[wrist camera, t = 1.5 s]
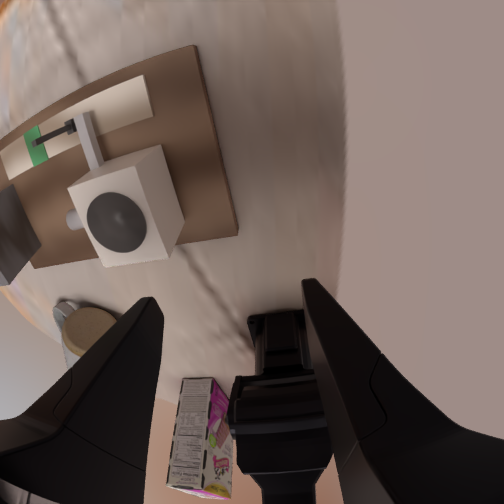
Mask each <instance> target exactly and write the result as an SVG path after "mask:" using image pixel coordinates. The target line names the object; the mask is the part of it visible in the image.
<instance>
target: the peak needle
mask: <svg viewBox="0 0 504 504" xmlns="http://www.w3.org/2000/svg"><path fill="white" fill-rule="evenodd" d="M64 124H65V126H64V127H61V128H59V129H57V130H54V131H52V132H50V133H48V134H46V135H43V136H41V137H39V138H37V139H35V140H33V141H32V142H31V143H32V146H33V148H34V147H36V146H38V145H40V144H42V143H44V142H46V141H48V140H50V139H52V138H54V137H56V136H58V135H60V134H62V133H64V132H67V134H68V135H70V134H72V133H74V132H76V131H77V128H76V125H75V122H74V118H72V119H70V120H68V121H66V122H64Z"/></svg>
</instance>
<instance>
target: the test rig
mask: <svg viewBox="0 0 504 504" xmlns="http://www.w3.org/2000/svg"><path fill="white" fill-rule="evenodd" d="M87 111H88V112H89V115H90V119H91V122H92V126H93V129H94V132H95V135H96V139H97V142H98V145H99V148H100V151H101V154H102V157H103V160H104V162H106V161H108V160H111V159H114V158H117V157H120V156H123V155H126V154H130V153H133V152H136V151H139V150H143V149H146V148H149V147H153V146H156V145H160V144H161V146H162V150H163V153H164V157H165V160H166V163H167V167H168V170H169V173H170V177H171V180H172V183H173V186H174V189H175V193H176V196H177V199H178V202H179V205H180V208H181V211H182V214H183V217H184V220H185V223H184V225H183V227H182V230H181V232H180V234H179V237H178V239H177V241H176V244H175V245H179V244H185V243H191V242H198V241H205V240H211V239H218V238H225V237H231V236H238V225H237V221H236V216H235V212H234V208H233V204H232V200H231V195H230V191H229V187H228V183H227V178H226V174H225V170H224V166H223V161H222V157H221V153H220V148H219V144H218V140H217V135H216V131H215V127H214V122H213V118H212V114H211V109H210V105H209V101H208V96H207V92H206V87H205V83H204V78H203V74H202V70H201V65H200V61H199V56H198V52H197V47H196V46H194V45H190V46H187V47H183V48H180V49H177V50H173V51H170V52H167V53H164V54H161V55H158V56H155V57H152V58H149V59H146V60H144V61H141V62H138V63H136V64H133V65H131V66H128V67H126V68H123V69H121V70H118V71H116V72H114V73H112V74H109V75H107V76H105V77H103V78H101V79H98V80H96V81H94V82H92V83H90V84H88V85H86V86H84V87H82V88H80V89H78V90H77V91H75V92H73V93H71V94H69V95H67V96H66V97H64V98H62V99H60V100H59V101H57V102H55V103H53V104H52V105H50V106H49V107H47V108H45V109H44V110H42V111H41V112H39V113H37V114H36V115H34V116H33V117H31V118H30V119H28V120H27V121H25V122H24V123H23V124H21V125H20V126H18V127H17V128H16V129H14V130H13V131H12V132H10V133H9V134H8V135H6V136H5V137H4V138H2V139H1V140H0V286H5V285H10V283H11V282H12V281H13V280H14V278H15V277H16V276H17V274H18V273H19V272H20V271H21V269H22V268H23V267H24V266H25V265H26V263H27V262H28V261H29V260H30V262H31V264H32V266H33V267H34V269H37V268H43V267H48V266H54V265H59V264H65V263H70V262H76V261H82V260H87V259H93V258H99V256H98V254H97V252H96V250H95V248H94V246H93V244H92V242H91V240H90V238H89V236H88V234H87V232H86V230H85V228H82V229H78V230H71V229H70V228H69V227H68V225H67V221H66V215H67V212H68V211H69V210H71V209H74V208H75V206H74V203H73V201H72V199H71V196H70V194H69V191H68V189H67V188H68V187H70V186H71V185H72V184H73V183H75V182H76V181H77V180H79V179H80V178H81V177H82V176H84V175H85V174H86V173H88V172H89V171H91V170H90V168H89V165H88V162H87V159H86V156H85V153H84V150H83V147H82V144H81V141H80V138H79V135H78V132H77V131H76V132H74V133H72V134H70V135H68V134H67V132H64V133H62V134H60V135H58V136H56V137H54V138H52V139H50V140H48V141H46V142H44V143H42V144H40V145H38V146H36V147H34V148H33V146H32V143H31V142H32V141H33V140H35V139H37V138H39V137H41V136H43V135H46V134H48V133H50V132H52V131H54V130H57V129H59V128H61V127H64V126H65V124H64V122H66V121H68V120H70V119H72V118H74V117H76V116H78V115H80V114H82V113H84V112H87Z"/></svg>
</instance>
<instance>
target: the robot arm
mask: <svg viewBox="0 0 504 504" xmlns="http://www.w3.org/2000/svg"><path fill="white" fill-rule="evenodd" d="M301 286H302V297H303V306H304V310H300V311H292V312H284V313H276V314H267V315H258V316H250V317H248V319H247V324H248V327H249V330H250V334H251V337H252V340H253V344H254V347H255V375H253V376H236V377H235V382H234V383H233V387H232V391H231V395H230V400H229V404H228V409H227V414H226V416H225V423H226V424H227V425H228V426H229V431H230V434H231V436H232V438H233V439H234V440H236V446H237V465H238V466H239V468H240V470H241V472H242V473H243V474H245V475H246V474H247V475H248V474H249V475H250V476H251V477H252V478H253V479H254V480H255V482H256V483H257V484H258V485H259V486H260V488H261V490H262V504H316V490H315V484H316V482H317V481H318V479H319V477H320V476H321V474H322V472H323V471H324V469H326V468H327V466H328V464H329V462H330V460H331V457H332V455H333V453H334V458H335V462H336V467H337V472H338V474H339V475H338V477H339V482H340V486H341V491H342V496H343V501H344V504H504V440H503V439H500V438H496V437H492V436H489V435H485V434H482V433H478V432H475V431H472V430H469V429H466V428H464V427H462V426H460V425H458V424H457V423H455V422H453V421H452V420H451V419H450V418H448V417H447V416H446V415H445V414H444V413H443V412H442V411H441V410H439V409H438V408H437V407H436V406H435V405H434V404H433V403H432V402H430V400H428V399H427V398H426V397H425V396H424V395H423V394H422V393H421V392H420V391H418V390H417V389H416V388H415V387H414V386H413V385H412V384H411V383H410V382H409V381H408V380H407V379H406V378H405V377H404V376H403V375H402V374H401V373H400V372H399V371H398V370H397V369H396V368H395V367H394V366H393V364H392V363H390V361H389V360H388V359H387V358H386V357H385V355H384V354H381V351H380V350H379V349H378V347H377V346H376V345H375V344H374V343H373V342H372V341H371V339H370V338H369V337H368V336H367V335H366V334H365V333H364V332H363V330H362V329H361V328H360V327H359V326H358V325H357V324H356V322H355V321H353V319H352V318H351V317H350V316H349V315H348V314H347V312H346V311H345V310H344V309H343V308H342V307H341V306H340V305H339V304H338V302H337V301H336V300H335V299H334V298H333V297H332V296H331V295H330V294H329V293H328V291H327V290H326V289H325V288H324V287H323V286H322V285H321V284H320V283H319V282H318V281H317V279H315V278H309V279H303V280H302V281H301ZM163 330H164V315H163V313H162V311H161V309H160V307H159V305H158V303H157V302H156V300H155V298H153V297H143V298H141V299H139V300H138V301H137V302H136V303H135V304H134V305H133V306H132V307H131V308H130V309H129V310H128V311H127V312H126V313H125V314H124V315H123V316H122V317H121V318H120V319H119V320H118V321H117V322H116V323H115V324H114V325H113V326H111V327H110V328H109V329H108V330H107V331H106V332H105V333H104V334H103V335H102V336H101V337H100V338H99V339H98V340H97V341H96V342H95V343H94V344H93V345H92V346H91V347H90V348H89V349H88V350H87V351H86V352H85V353H84V354H83V355H82V356H81V357H80V358H79V359H78V361H77V362H76V363H75V364H74V365H73V367H71V368H70V369H69V370H68V371H67V372H66V373H65V374H64V375H63V376H62V377H61V378H60V379H59V380H58V381H57V382H56V383H55V384H54V385H53V386H52V387H51V388H50V389H49V390H48V391H47V392H46V393H44V394H43V395H42V396H41V397H40V398H39V399H38V400H37V401H36V402H34V403H33V404H32V406H30V407H29V408H28V409H27V410H26V411H25V412H24V413H22V414H21V415H19V416H17V417H15V418H12V419H7V420H0V504H143V503H144V489H145V477H146V472H145V471H146V464H147V454H148V446H149V437H150V429H151V422H152V415H153V407H154V401H155V394H156V388H157V382H158V376H159V370H160V364H161V356H162V342H163Z"/></svg>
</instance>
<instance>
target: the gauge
mask: <svg viewBox="0 0 504 504" xmlns="http://www.w3.org/2000/svg"><path fill="white" fill-rule="evenodd" d="M74 122H75V125H76V128H77V132H78V135H79V138H80V141H81V144H82V147H83V150H84V153H85V156H86V159H87V162H88V165H89V168H90V170H91V171H89V172H88V173H86V174H85V175H84V176H82V177H81V178H80V179H79V180H77V181H76V182H75V183H73V184H72V185H71V186H70V187H68V188H67V189H68V191H69V194H70V196H71V199H72V201H73V203H74V206H75V208H74V209H71V210H69V211H68V212H67V215H66V221H67V225H68V227H69V228H70V229H71V230H78V229H82V228H85V230H86V232H87V234H88V236H89V238H90V240H91V242H92V244H93V246H94V248H95V250H96V252H97V254H98V256H99V258H100V260H101V262H102V264H103V266H104V267H105V268H107V267H114V266H121V265H128V264H135V263H142V262H149V261H156V260H163V259H169V258H170V256H171V253H172V251H173V248H174V246H175V244H176V241H177V239H178V237H179V234H180V232H181V230H182V227H183V225H184V223H185V220H184V217H183V214H182V211H181V208H180V205H179V202H178V199H177V196H176V193H175V189H174V186H173V183H172V180H171V177H170V173H169V170H168V167H167V163H166V160H165V157H164V153H163V150H162V146H161V144H160V145H156V146H153V147H149V148H146V149H143V150H139V151H136V152H133V153H130V154H126V155H123V156H120V157H117V158H114V159H111V160H108V161H106V162H104V160H103V157H102V154H101V151H100V148H99V145H98V142H97V139H96V135H95V132H94V129H93V126H92V122H91V119H90V115H89V112H88V111H87V112H84V113H82V114H80V115H78V116H76V117H74Z"/></svg>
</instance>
